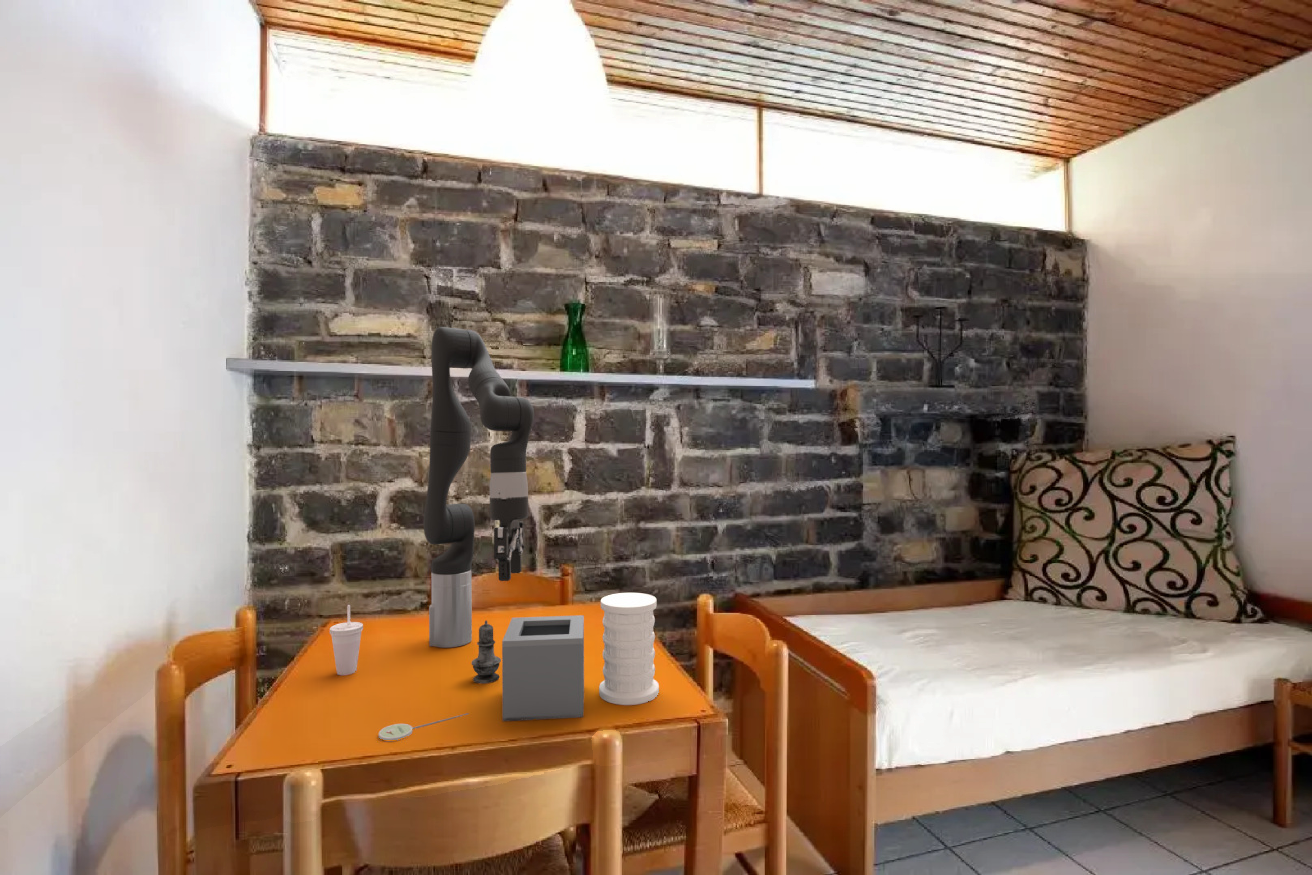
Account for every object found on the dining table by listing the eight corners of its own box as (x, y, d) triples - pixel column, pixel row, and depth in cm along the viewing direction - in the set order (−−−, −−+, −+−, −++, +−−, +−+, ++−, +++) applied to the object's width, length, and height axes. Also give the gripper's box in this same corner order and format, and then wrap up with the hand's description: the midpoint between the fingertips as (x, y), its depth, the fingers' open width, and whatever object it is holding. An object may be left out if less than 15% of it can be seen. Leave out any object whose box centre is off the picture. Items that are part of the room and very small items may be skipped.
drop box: (502, 721, 108) (502, 641, 108) (512, 688, 122) (512, 617, 122) (583, 717, 110) (583, 638, 110) (583, 685, 124) (583, 615, 124)
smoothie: (370, 668, 133) (369, 603, 133) (344, 679, 127) (343, 611, 127) (349, 664, 136) (348, 600, 136) (322, 674, 130) (322, 607, 130)
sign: (473, 717, 109) (382, 741, 101) (473, 722, 109) (382, 746, 101) (463, 706, 114) (375, 728, 105) (463, 711, 114) (375, 734, 105)
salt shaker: (493, 685, 124) (492, 625, 124) (466, 682, 125) (465, 623, 125) (505, 674, 130) (505, 616, 130) (480, 671, 131) (479, 615, 131)
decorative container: (591, 686, 124) (591, 595, 124) (645, 676, 128) (645, 589, 128) (610, 709, 113) (610, 610, 113) (668, 698, 118) (668, 603, 117)
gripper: (500, 494, 132) (501, 571, 131) (479, 497, 118) (480, 583, 117) (535, 493, 132) (536, 570, 131) (518, 496, 118) (520, 582, 117)
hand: (510, 576), depth 124 cm, fingers open, 8 cm apart
